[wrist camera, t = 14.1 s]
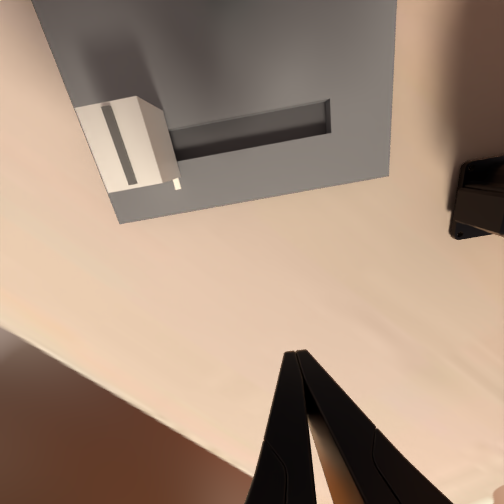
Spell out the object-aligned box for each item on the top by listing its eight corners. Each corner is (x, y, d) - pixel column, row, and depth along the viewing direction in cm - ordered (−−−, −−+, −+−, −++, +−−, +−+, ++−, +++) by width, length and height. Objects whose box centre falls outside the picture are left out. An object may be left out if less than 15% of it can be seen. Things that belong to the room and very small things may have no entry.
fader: (167, 113, 16) (134, 94, 11) (184, 175, 17) (161, 183, 12) (123, 121, 16) (72, 107, 11) (144, 183, 17) (106, 193, 13)
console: (383, -189, 12) (409, -254, 10) (374, 174, 19) (389, 176, 17) (11, -105, 13) (-30, -152, 11) (131, 217, 20) (118, 224, 18)
